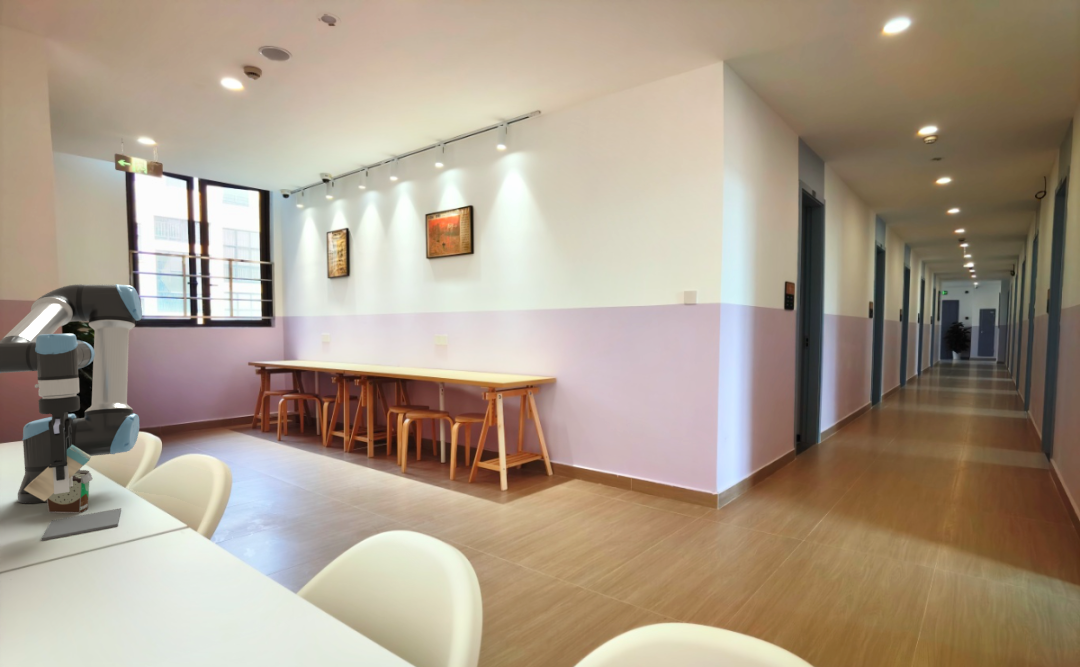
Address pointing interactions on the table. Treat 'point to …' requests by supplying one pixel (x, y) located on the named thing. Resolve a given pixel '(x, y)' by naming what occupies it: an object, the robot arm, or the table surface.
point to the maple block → (44, 481)
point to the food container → (72, 495)
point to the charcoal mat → (82, 524)
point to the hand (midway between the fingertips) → (63, 489)
